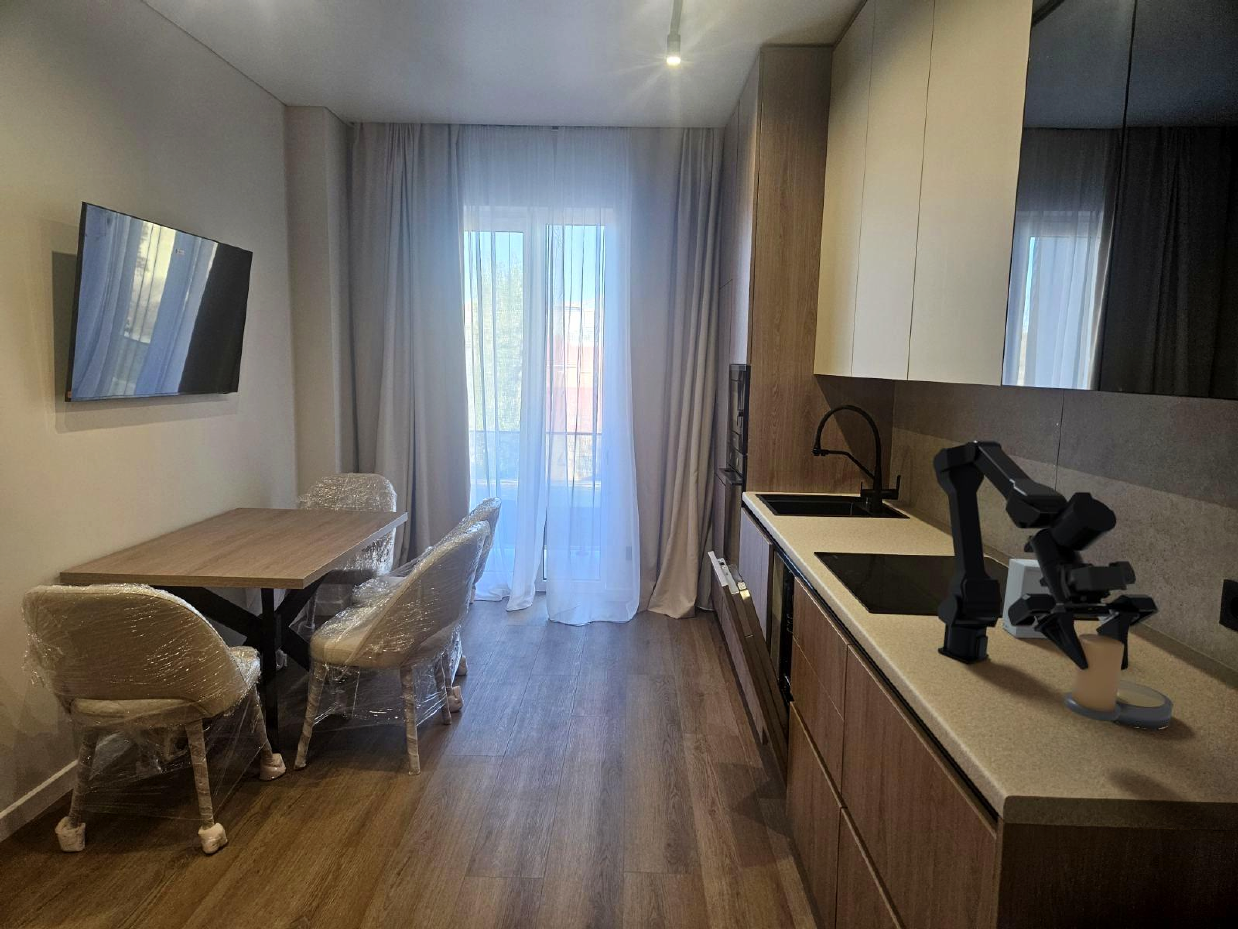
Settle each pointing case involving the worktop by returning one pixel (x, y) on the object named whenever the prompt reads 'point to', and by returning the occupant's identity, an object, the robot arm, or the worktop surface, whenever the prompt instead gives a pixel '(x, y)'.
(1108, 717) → the tan rounded stopper
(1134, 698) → the grey round disc
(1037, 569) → the skincare box
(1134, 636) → the worktop surface
